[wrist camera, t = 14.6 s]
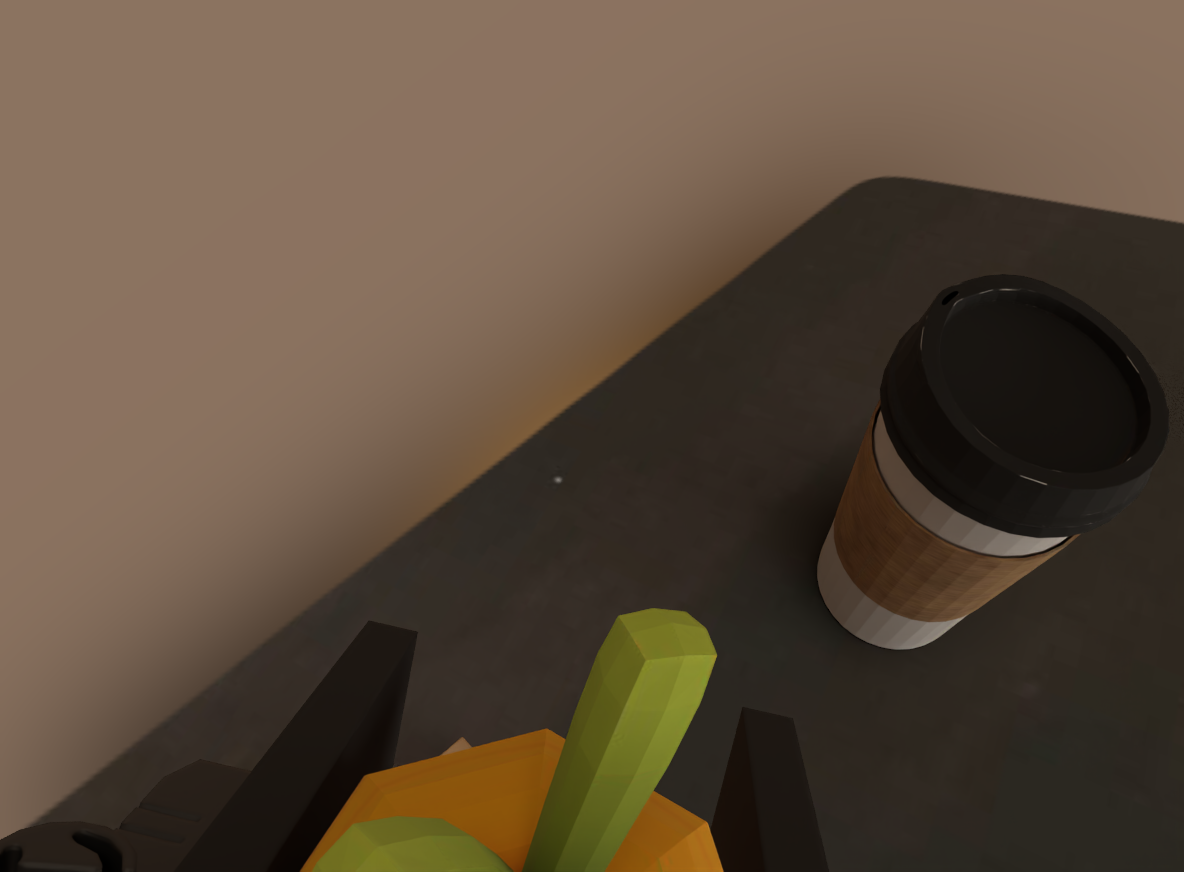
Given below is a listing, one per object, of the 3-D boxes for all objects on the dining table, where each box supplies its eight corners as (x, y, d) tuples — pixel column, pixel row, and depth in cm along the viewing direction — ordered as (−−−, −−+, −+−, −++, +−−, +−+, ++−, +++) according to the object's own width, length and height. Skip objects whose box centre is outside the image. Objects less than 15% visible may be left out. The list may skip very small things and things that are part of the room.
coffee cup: (869, 460, 47) (1009, 222, 34) (1025, 592, 44) (1242, 385, 31) (744, 574, 43) (850, 355, 31) (906, 725, 40) (1096, 552, 28)
